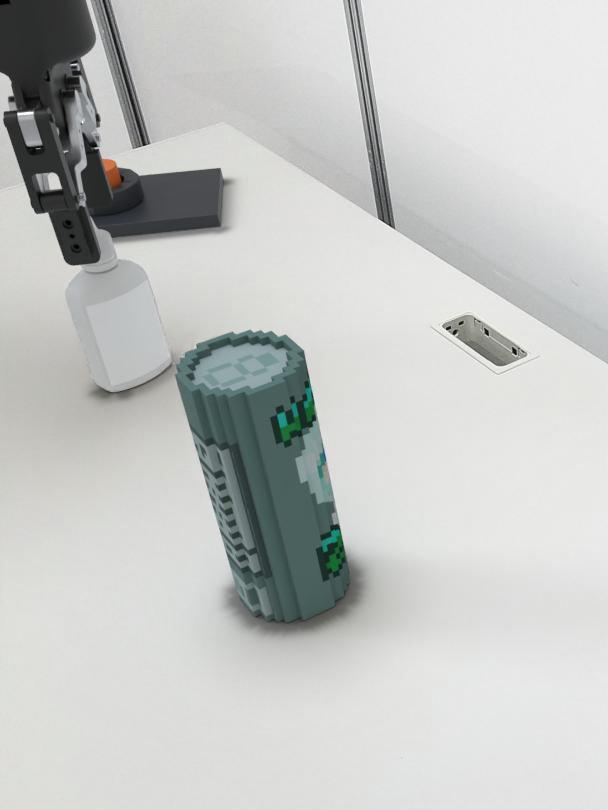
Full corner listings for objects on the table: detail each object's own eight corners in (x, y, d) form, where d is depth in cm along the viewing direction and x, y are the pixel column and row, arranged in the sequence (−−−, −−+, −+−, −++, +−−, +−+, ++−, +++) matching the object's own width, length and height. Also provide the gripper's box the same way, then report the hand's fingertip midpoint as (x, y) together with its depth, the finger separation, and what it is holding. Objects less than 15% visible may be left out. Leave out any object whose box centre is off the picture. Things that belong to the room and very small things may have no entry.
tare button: (84, 194, 106) (78, 174, 105) (88, 180, 108) (82, 160, 107) (120, 190, 107) (114, 171, 105) (123, 176, 109) (117, 157, 108)
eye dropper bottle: (178, 380, 89) (132, 223, 81) (97, 398, 87) (42, 239, 79) (170, 351, 92) (125, 196, 84) (91, 367, 90) (38, 211, 82)
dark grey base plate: (71, 242, 105) (60, 209, 103) (84, 193, 112) (74, 161, 110) (220, 227, 107) (212, 194, 105) (223, 180, 114) (216, 148, 112)
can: (366, 591, 72) (322, 366, 61) (270, 636, 69) (208, 409, 59) (317, 538, 75) (268, 318, 65) (224, 579, 72) (158, 357, 62)
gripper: (-39, -60, 76) (47, 194, 87) (-88, 12, 65) (17, 290, 76) (87, -69, 77) (156, 183, 88) (59, 0, 66) (141, 276, 77)
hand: (91, 232), depth 82 cm, fingers open, 8 cm apart
